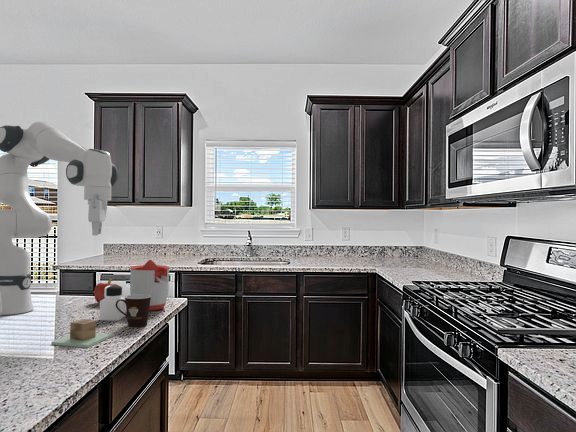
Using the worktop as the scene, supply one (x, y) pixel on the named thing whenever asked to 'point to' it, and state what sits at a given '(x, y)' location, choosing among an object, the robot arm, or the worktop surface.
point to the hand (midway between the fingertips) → (96, 234)
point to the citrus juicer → (151, 283)
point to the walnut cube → (82, 329)
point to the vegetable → (101, 290)
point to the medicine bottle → (112, 304)
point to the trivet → (77, 343)
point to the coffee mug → (136, 309)
